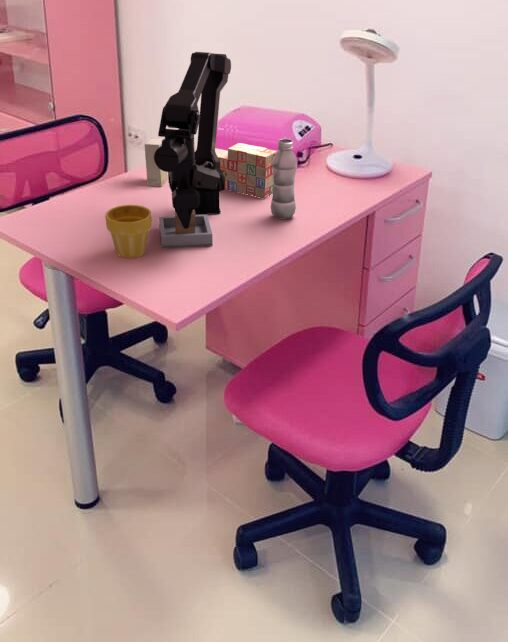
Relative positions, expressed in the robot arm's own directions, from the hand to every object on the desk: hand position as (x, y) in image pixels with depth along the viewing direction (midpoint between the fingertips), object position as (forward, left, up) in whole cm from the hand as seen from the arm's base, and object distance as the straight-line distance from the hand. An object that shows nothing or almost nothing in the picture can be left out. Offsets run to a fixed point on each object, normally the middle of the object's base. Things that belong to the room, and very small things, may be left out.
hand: (184, 220), depth 174 cm
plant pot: (+13, +7, -4) cm, 15 cm away
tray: (0, 0, -4) cm, 4 cm away
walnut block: (0, 0, -4) cm, 4 cm away
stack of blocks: (-17, -31, -5) cm, 36 cm away
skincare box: (+5, -38, -4) cm, 39 cm away
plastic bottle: (-26, -9, -4) cm, 28 cm away
